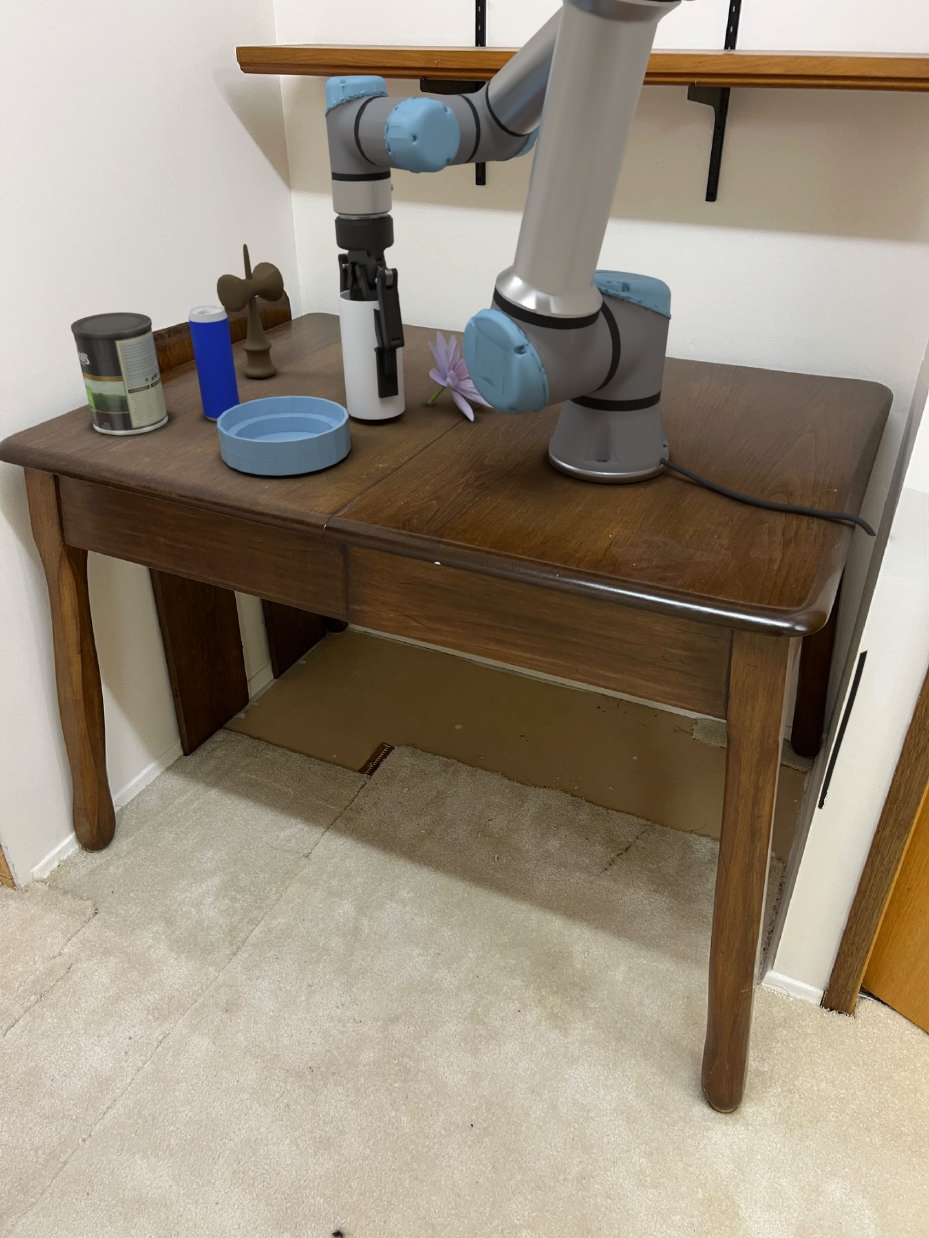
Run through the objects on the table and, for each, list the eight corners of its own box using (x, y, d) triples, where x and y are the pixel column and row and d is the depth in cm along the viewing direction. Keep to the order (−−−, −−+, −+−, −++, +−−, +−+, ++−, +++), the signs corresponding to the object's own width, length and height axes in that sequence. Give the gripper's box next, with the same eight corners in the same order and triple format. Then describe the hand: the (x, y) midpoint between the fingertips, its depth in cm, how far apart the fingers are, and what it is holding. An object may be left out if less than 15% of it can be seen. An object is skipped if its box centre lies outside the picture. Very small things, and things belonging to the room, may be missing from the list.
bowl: (371, 463, 121) (369, 425, 118) (246, 490, 114) (241, 451, 111) (321, 422, 133) (318, 388, 130) (206, 445, 126) (200, 409, 123)
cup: (402, 419, 131) (396, 301, 122) (343, 419, 131) (333, 302, 122) (406, 400, 138) (401, 287, 129) (351, 400, 138) (342, 287, 129)
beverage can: (222, 407, 138) (206, 303, 130) (248, 413, 136) (234, 308, 128) (196, 418, 134) (179, 311, 126) (223, 425, 132) (207, 317, 124)
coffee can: (95, 440, 127) (71, 336, 120) (92, 415, 136) (69, 316, 128) (172, 430, 130) (154, 328, 123) (165, 406, 139) (147, 309, 131)
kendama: (294, 370, 153) (281, 240, 142) (254, 386, 146) (237, 251, 135) (266, 364, 156) (251, 236, 145) (226, 380, 149) (207, 247, 138)
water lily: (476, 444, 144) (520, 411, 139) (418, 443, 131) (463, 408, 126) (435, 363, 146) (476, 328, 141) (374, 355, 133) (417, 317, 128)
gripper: (427, 223, 114) (433, 403, 126) (356, 201, 130) (367, 364, 142) (371, 229, 111) (382, 413, 123) (305, 206, 127) (321, 372, 139)
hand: (374, 387), depth 132 cm, fingers closed on cup, 8 cm apart
